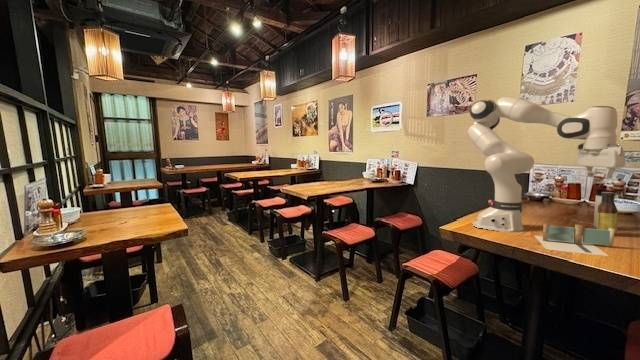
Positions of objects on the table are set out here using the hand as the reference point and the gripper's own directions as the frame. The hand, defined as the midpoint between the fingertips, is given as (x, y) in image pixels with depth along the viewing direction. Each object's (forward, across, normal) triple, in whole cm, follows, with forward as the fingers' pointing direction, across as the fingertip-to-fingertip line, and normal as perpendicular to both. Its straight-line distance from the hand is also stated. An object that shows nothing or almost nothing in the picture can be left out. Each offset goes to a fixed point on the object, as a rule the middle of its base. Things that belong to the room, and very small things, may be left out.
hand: (598, 177), depth 110 cm
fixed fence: (+27, -5, +15) cm, 32 cm away
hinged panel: (+26, -8, +4) cm, 28 cm away
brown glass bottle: (+28, +21, -16) cm, 38 cm away
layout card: (+28, -8, +15) cm, 32 cm away
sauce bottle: (+28, +10, -10) cm, 31 cm away
